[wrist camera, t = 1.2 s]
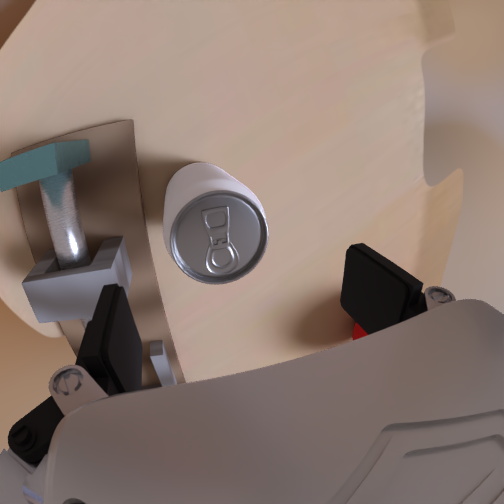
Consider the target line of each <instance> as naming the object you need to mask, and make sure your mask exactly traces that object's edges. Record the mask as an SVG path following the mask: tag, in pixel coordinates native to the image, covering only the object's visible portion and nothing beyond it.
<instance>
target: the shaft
mask: <svg viewBox="0 0 504 504" xmlns="http://www.w3.org/2000/svg"><path fill="white" fill-rule="evenodd" d="M90 161H91V157H90V148H89V139H86V140H75V141H66V142H57V143H52V144H49V145H46V146H42V147H39V148H36V149H33V150H31V151H28V152H25V153H22V154H20V155H17V156H14V157H12V158H9V159H7V160H4V161H2V162H0V189H1V192H3V191H6V190H8V189H11V188H14V187H17V186H20V185H23V184H26V183H30V182H33V181H36V180H39V184H40V190H41V195H42V200H43V205H44V210H45V214H46V218H47V223H48V227H49V231H50V234H51V238H52V242H53V245H54V249H55V252H56V256H57V259H58V262H59V265H60V268H61V271H62V270H68V269H74V268H80V267H86V266H90V265H91V263H92V262H91V258H90V254H89V251H88V247H87V243H86V239H85V235H84V231H83V227H82V222H81V218H80V213H79V208H78V203H77V198H76V193H75V187H74V181H73V174H72V168H74V167H77V166H80V165H82V164H85V163H88V162H90ZM90 320H92V318H83V319H80V321H81V323H82V325H83V328H84V330H85V329H86V326H87V323H88V321H90Z"/></svg>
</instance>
